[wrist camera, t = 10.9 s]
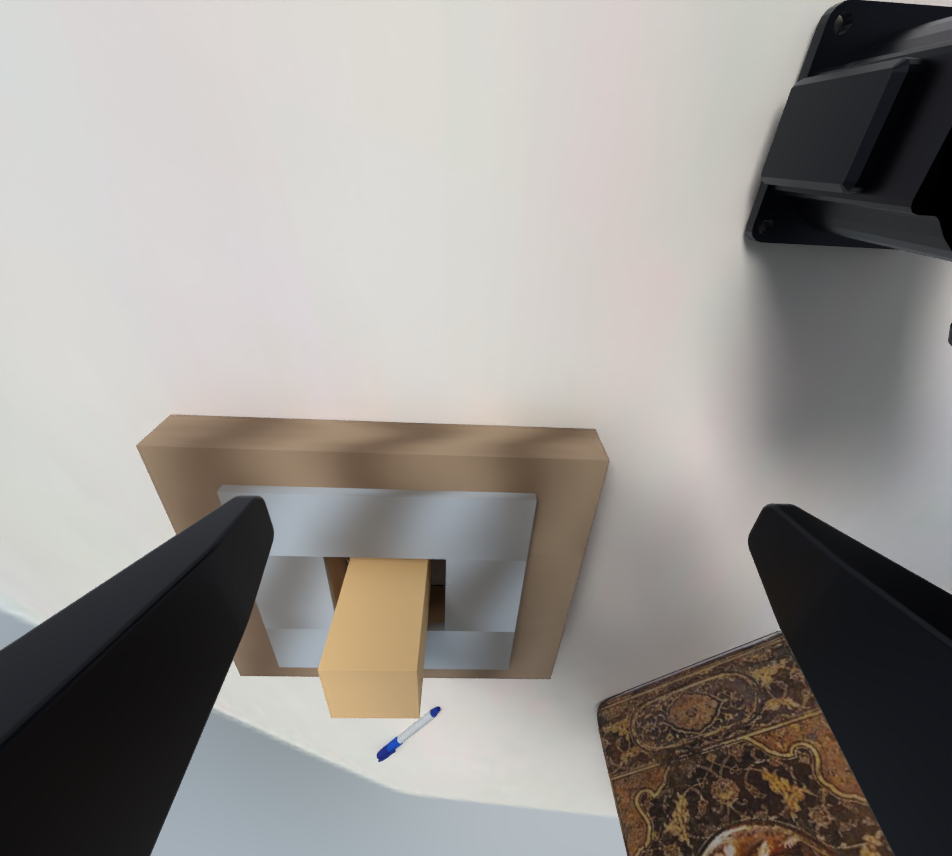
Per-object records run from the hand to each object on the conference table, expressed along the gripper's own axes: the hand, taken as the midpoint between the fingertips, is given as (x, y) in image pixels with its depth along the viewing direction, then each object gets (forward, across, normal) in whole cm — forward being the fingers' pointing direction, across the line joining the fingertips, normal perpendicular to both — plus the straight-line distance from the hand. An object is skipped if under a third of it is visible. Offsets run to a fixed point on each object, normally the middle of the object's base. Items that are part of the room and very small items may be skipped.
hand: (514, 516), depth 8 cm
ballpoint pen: (+12, +6, +37) cm, 40 cm away
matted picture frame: (+12, +5, +14) cm, 19 cm away
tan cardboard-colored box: (+12, +5, +14) cm, 19 cm away
